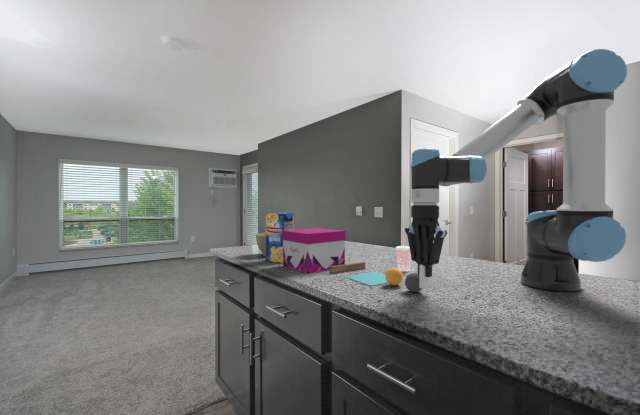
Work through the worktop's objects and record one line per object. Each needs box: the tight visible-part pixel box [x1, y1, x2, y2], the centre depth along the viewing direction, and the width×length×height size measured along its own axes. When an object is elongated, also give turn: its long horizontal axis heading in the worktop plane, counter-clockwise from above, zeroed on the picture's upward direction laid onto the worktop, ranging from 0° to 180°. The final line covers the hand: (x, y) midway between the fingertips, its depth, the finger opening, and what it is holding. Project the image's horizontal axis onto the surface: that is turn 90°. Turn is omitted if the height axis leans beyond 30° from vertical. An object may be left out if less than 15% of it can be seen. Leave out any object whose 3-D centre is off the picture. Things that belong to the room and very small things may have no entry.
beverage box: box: [265, 212, 295, 264], centre depth 139 cm, size 7×11×22 cm, turn 57°
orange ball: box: [384, 267, 404, 287], centre depth 97 cm, size 6×6×6 cm
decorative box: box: [282, 227, 347, 274], centre depth 127 cm, size 19×19×15 cm
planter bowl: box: [255, 232, 266, 257], centre depth 156 cm, size 16×16×11 cm
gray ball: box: [404, 272, 423, 293], centre depth 90 cm, size 6×6×6 cm
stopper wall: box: [329, 261, 366, 275], centre depth 118 cm, size 1×16×2 cm, turn 121°
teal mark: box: [345, 271, 389, 287], centre depth 106 cm, size 14×14×1 cm
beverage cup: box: [395, 233, 412, 272], centre depth 119 cm, size 6×6×14 cm
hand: (424, 287), depth 86 cm, fingers closed
